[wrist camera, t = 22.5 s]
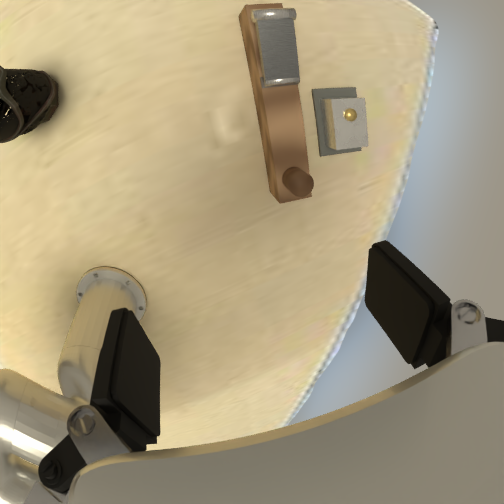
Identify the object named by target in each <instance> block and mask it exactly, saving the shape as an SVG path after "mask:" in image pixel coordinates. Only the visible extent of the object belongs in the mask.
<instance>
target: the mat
mask: <svg viewBox="0 0 504 504" xmlns="http://www.w3.org/2000/svg"><path fill="white" fill-rule="evenodd" d="M312 95H313V102H314V110H315V117H316V125H317V134H318V142H319V152H320V156H327V155H334V154H340V153H348V152H355V151H361V147H357V148H349V149H341V150H335V149H332V148H330V147H327V146H325V140H324V130H323V121H322V113H321V105H320V99H326V98H345V97H356V98H357V94H356V87H355V88H326V89H312Z"/></svg>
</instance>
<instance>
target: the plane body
mask: <svg viewBox="0 0 504 504" xmlns="http://www.w3.org/2000/svg"><path fill="white" fill-rule="evenodd" d="M273 8H283V6H282V3H275V4H255V5H245V7H244V8H243V10H242V12H241V13H240V15H239V21H240V26H241V31H242V36H243V41H244V46H245V51H246V56H247V61H248V66H249V71H250V77H251V82H252V87H253V93H254V98H255V104H256V109H257V115H258V121H259V126H260V132H261V138H262V144H263V150H264V156H265V162H266V168H267V175H268V181H269V187H270V192H271V193H272V195H273V196H274V197H275V198H276V199H277V201H278V202H279V203H285V202H289V201H294V200H299V199H303V198H308V197H312V195H311V191H312V189H313V186H314V182H313V179H312V177H311V176H310V174H309V165H308V156H307V147H306V139H305V131H304V124H303V117H302V109H301V103H300V96H299V90H298V84H299V83H293V84H283V85H274V86H266V87H265V86H264V83H263V75H262V68H261V60H260V53H259V46H258V39H257V32H256V25H255V22H252V20H251V10H255V9H273Z"/></svg>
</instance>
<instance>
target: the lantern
mask: <svg viewBox="0 0 504 504" xmlns="http://www.w3.org/2000/svg"><path fill="white" fill-rule="evenodd" d="M15 75H16V76H15ZM22 75H23V76H24V77H23V76H22ZM6 78H7V79H6ZM11 78H12V79H11ZM11 82H13V83H11ZM19 83H20V84H19ZM18 85H19V86H18ZM0 104H1V105H0V143H5V142H8V141H11V140H13V139H15V138H17V137H18V136H20V135H23V134H26V133H28V132H30V131H32V130H33V129H35V128H36V127H37V126H38V125H39V124H40V123H42V122H46V121H49V120H50V118H51V116H52V115H53V113H54V111H55V110H56V108H57V107H58V84H57V83H56V82H55V81H54V80H52V79H51V78H50V76H49V75H48V74H47V73H46V72H44V71H36V70H30V69H19V70H18V69H4V68H3V67H1V66H0ZM10 107H11V109H10ZM8 109H9V111H8ZM7 111H8V113H7V115H5V114H6V112H7ZM8 115H9V116H8ZM7 116H8V117H7ZM3 117H5V118H3ZM7 121H8V122H7ZM29 130H30V131H29Z"/></svg>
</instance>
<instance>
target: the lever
mask: <svg viewBox="0 0 504 504" xmlns="http://www.w3.org/2000/svg"><path fill="white" fill-rule="evenodd" d="M295 19H296V11H295V9H294V8H273V9H255V10H251V20H252V22H255V25H256V32H257V39H258V46H259V53H260V60H261V68H262V75H263V83H264V86H265V87H266V86H274V85H283V84H293V83H299V82H300V77H299V66H298V56H297V46H296V37H295V29H294V21H293V20H295Z"/></svg>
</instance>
